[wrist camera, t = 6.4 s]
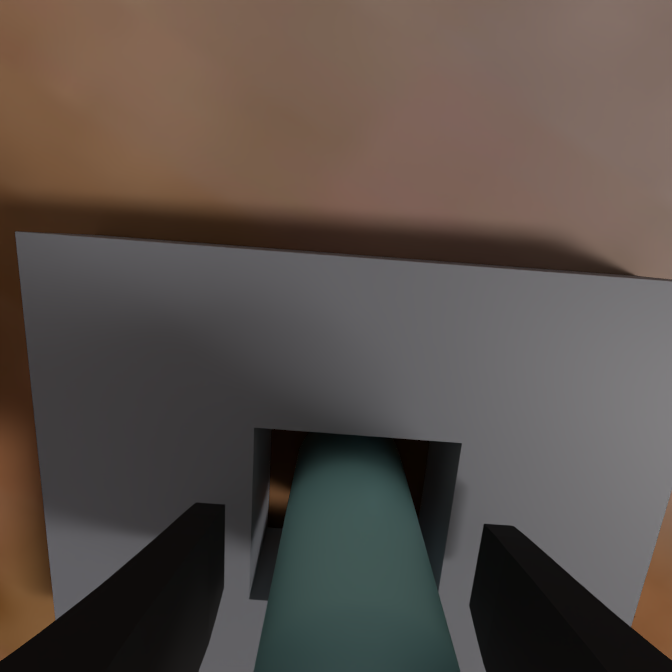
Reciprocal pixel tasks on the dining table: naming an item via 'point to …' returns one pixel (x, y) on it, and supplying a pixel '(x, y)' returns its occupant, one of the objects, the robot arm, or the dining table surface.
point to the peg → (353, 568)
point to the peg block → (343, 407)
